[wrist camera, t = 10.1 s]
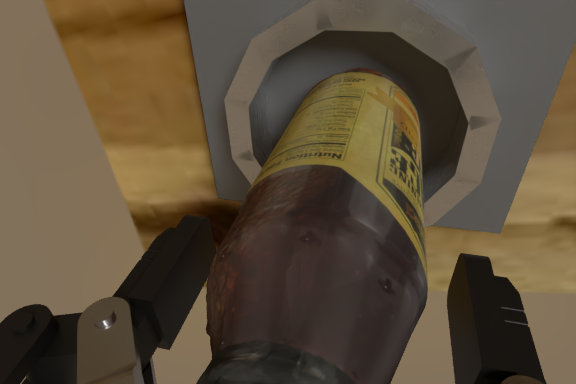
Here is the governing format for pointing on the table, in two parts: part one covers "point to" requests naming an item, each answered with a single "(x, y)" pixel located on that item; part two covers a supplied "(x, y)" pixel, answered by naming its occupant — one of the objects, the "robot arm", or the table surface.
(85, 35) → the table surface
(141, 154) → the table surface
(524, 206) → the table surface
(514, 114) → the charcoal base
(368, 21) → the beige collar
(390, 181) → the sauce bottle
